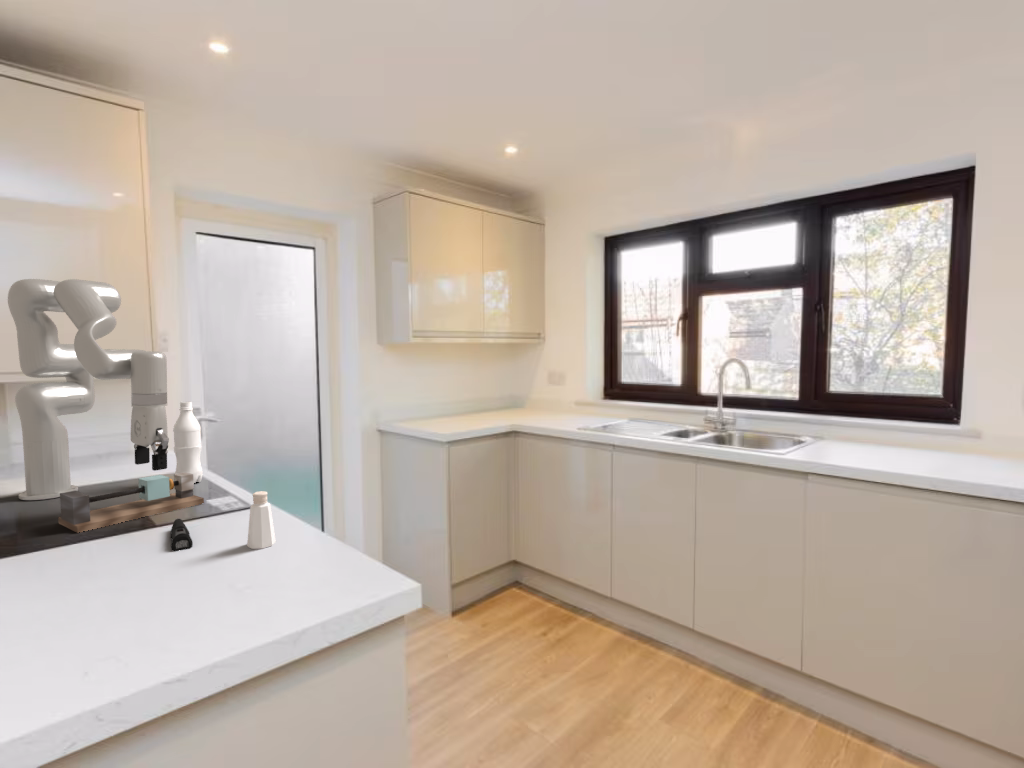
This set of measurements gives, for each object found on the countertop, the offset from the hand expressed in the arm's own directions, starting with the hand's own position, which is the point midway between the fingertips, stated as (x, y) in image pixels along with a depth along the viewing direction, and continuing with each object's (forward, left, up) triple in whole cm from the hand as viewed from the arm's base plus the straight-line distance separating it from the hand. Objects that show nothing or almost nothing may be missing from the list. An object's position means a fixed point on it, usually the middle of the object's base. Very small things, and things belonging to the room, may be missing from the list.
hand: (150, 466), depth 135 cm
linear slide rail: (+1, -4, -11) cm, 12 cm away
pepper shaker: (+48, +1, -11) cm, 49 cm away
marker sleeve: (+1, 0, -8) cm, 8 cm away
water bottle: (-19, +18, -11) cm, 28 cm away
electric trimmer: (+30, -7, -12) cm, 33 cm away
